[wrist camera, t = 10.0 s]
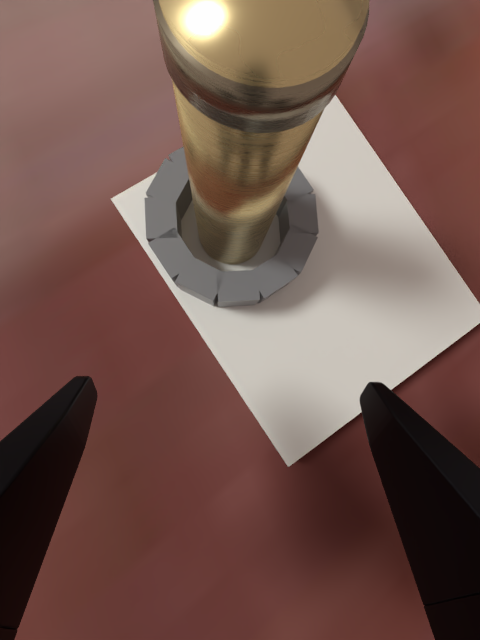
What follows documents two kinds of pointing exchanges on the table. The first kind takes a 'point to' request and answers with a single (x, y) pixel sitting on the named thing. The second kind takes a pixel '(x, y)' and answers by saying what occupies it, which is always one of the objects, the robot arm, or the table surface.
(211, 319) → the nut plate
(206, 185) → the brass pin
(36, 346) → the table surface
